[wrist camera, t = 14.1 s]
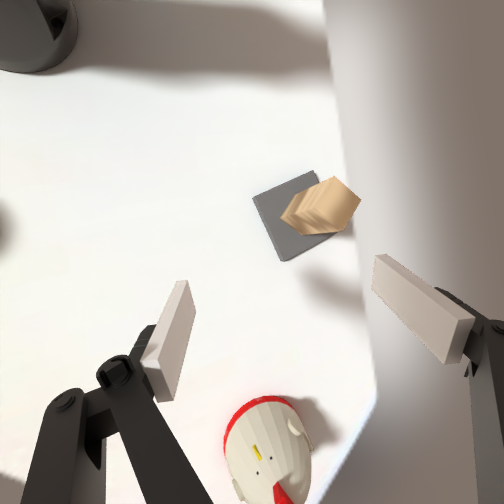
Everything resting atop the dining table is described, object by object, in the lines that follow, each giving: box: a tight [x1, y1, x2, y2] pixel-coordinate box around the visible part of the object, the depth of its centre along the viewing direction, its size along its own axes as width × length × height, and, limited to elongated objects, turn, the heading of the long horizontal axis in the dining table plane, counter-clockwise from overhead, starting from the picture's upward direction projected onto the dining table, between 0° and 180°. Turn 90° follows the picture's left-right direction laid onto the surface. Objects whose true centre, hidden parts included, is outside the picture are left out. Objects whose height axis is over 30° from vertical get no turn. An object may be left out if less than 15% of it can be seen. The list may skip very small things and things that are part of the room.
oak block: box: [280, 176, 361, 235], centre depth 35 cm, size 5×5×11 cm
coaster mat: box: [252, 170, 337, 262], centre depth 41 cm, size 12×12×2 cm
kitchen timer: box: [224, 396, 314, 504], centre depth 34 cm, size 14×14×15 cm
